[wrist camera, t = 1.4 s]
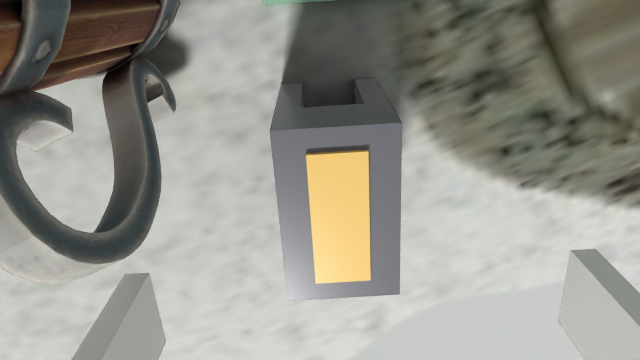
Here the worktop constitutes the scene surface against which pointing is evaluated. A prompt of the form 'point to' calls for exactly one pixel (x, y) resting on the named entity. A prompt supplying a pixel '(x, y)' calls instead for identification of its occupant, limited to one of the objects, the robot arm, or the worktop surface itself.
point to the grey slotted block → (338, 193)
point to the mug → (56, 122)
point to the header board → (288, 1)
